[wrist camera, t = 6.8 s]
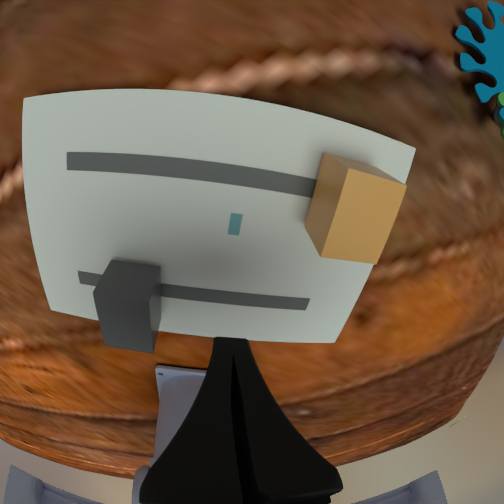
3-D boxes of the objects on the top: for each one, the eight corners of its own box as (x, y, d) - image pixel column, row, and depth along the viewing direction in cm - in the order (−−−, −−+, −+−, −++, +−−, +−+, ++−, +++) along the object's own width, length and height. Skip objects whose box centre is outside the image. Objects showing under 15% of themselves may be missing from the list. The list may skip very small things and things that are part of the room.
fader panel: (327, 324, 22) (334, 343, 20) (60, 293, 18) (50, 310, 17) (397, 141, 14) (416, 148, 13) (42, 95, 11) (23, 98, 9)
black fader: (161, 317, 17) (153, 353, 14) (117, 310, 16) (104, 344, 14) (160, 266, 15) (149, 301, 12) (111, 259, 14) (92, 292, 12)
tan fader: (353, 234, 15) (376, 264, 12) (304, 226, 14) (320, 257, 12) (376, 167, 13) (407, 185, 10) (324, 152, 12) (348, 168, 10)
